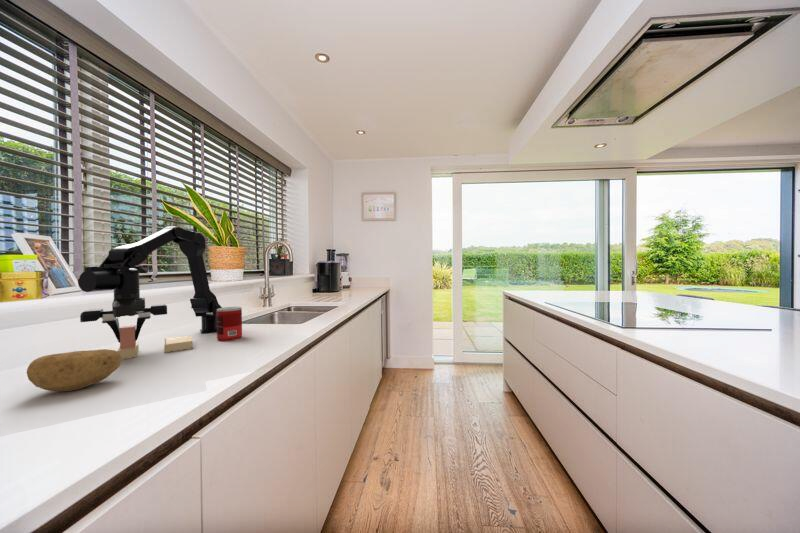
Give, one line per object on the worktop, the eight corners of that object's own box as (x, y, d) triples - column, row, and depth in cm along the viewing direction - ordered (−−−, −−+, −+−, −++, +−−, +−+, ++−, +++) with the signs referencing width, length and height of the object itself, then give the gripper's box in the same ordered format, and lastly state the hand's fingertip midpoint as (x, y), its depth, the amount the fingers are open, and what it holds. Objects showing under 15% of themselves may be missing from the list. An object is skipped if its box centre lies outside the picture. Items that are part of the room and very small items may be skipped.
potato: (119, 386, 64) (118, 349, 64) (17, 405, 56) (16, 363, 56) (125, 374, 72) (125, 341, 72) (37, 389, 64) (36, 352, 64)
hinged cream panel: (164, 346, 98) (164, 338, 98) (190, 342, 103) (190, 334, 103) (164, 352, 90) (164, 344, 90) (192, 348, 95) (192, 340, 95)
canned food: (246, 336, 111) (246, 306, 111) (232, 341, 103) (232, 309, 103) (227, 336, 112) (226, 306, 112) (212, 341, 104) (211, 309, 104)
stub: (121, 352, 92) (120, 325, 92) (138, 349, 94) (138, 323, 94) (117, 359, 84) (116, 330, 84) (136, 357, 86) (135, 328, 86)
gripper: (74, 293, 77) (76, 353, 77) (166, 288, 89) (167, 340, 89) (83, 290, 86) (85, 345, 86) (166, 286, 97) (167, 334, 97)
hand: (128, 341), depth 89 cm, fingers closed on stub, 3 cm apart
